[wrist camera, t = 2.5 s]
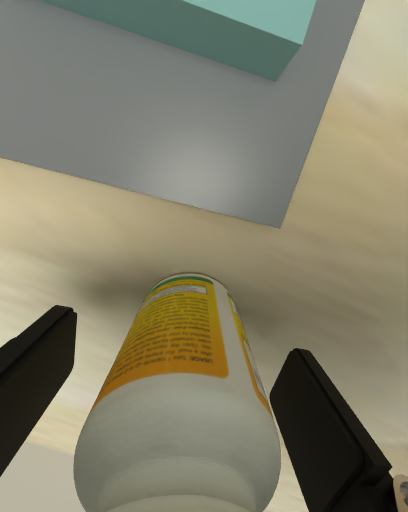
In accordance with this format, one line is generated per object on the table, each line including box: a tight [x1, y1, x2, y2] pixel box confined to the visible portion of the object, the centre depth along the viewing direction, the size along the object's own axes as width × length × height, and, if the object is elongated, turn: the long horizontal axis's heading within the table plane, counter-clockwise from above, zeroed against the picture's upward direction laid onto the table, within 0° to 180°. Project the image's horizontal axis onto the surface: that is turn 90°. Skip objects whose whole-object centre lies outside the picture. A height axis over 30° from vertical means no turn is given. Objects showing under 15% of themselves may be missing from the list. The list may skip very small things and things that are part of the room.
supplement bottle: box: [74, 274, 281, 512], centre depth 7 cm, size 5×5×10 cm
